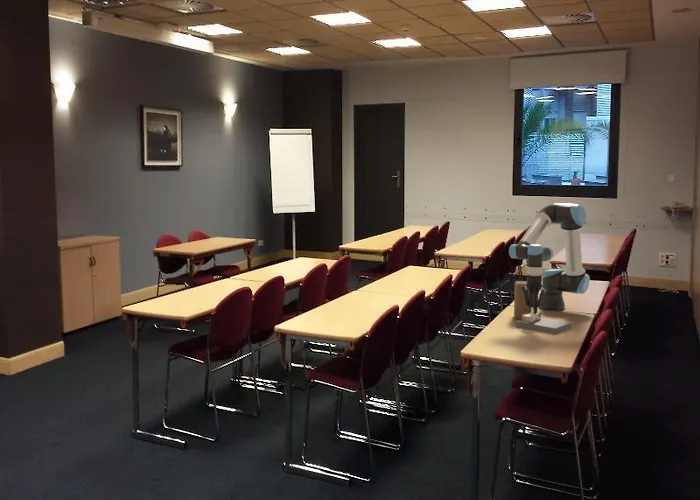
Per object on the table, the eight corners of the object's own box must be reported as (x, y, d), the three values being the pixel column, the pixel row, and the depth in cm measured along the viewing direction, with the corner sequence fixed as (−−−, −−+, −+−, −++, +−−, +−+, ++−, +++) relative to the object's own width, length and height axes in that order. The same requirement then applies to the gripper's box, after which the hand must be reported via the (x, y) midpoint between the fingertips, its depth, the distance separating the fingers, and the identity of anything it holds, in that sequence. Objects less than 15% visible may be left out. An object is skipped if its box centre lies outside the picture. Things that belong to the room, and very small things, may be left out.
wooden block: (533, 320, 362) (534, 284, 359) (514, 319, 364) (515, 283, 361) (532, 316, 372) (533, 281, 369) (513, 315, 374) (514, 280, 371)
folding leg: (535, 317, 355) (536, 310, 354) (542, 318, 353) (542, 311, 352) (521, 322, 342) (522, 316, 342) (528, 323, 340) (528, 317, 340)
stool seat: (532, 321, 359) (533, 310, 359) (570, 328, 344) (571, 317, 343) (516, 326, 347) (516, 315, 346) (555, 334, 332) (555, 322, 331)
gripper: (549, 275, 338) (548, 320, 340) (526, 272, 347) (525, 316, 350) (542, 276, 332) (540, 322, 335) (519, 274, 341) (518, 318, 344)
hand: (533, 319), depth 342 cm, fingers closed
